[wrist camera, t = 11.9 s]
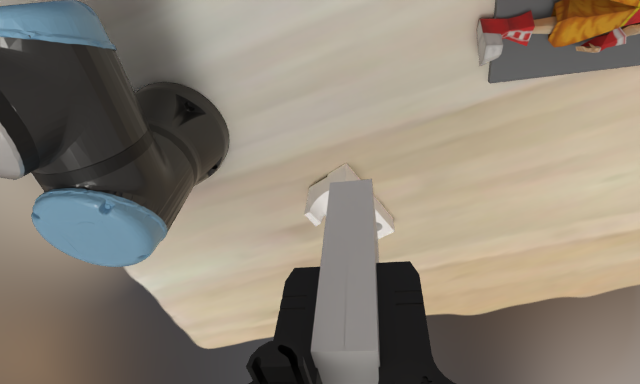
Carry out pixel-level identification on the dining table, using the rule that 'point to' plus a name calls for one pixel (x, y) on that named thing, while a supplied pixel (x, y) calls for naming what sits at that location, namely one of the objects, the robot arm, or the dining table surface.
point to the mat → (552, 49)
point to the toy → (564, 26)
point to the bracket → (319, 201)
